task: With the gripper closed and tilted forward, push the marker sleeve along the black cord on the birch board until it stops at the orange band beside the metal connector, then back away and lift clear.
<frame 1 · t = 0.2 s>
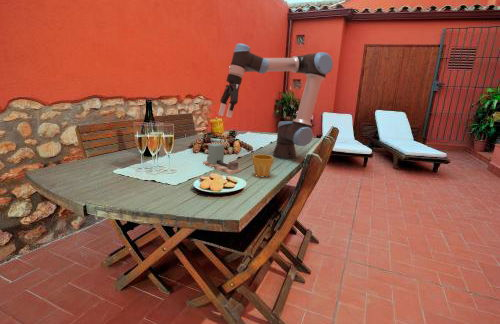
hand: (224, 116, 146), 27 cm above the table, tool pointing down, fingers open, 13 cm apart
marker sleeve: (216, 153, 153), point 7 cm above the table, slide at 0.0 cm
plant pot: (261, 175, 142), on the table
cord board: (221, 167, 151), on the table
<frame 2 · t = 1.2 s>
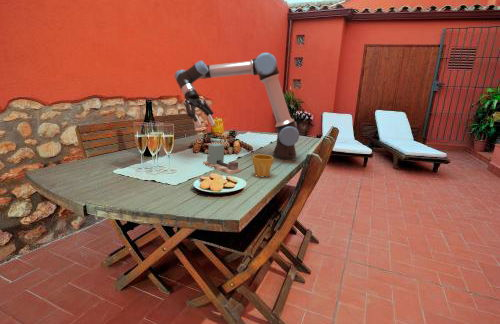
hand: (206, 125, 155), 21 cm above the table, tool tilted 45°, fingers open, 9 cm apart
nothing on the table moved.
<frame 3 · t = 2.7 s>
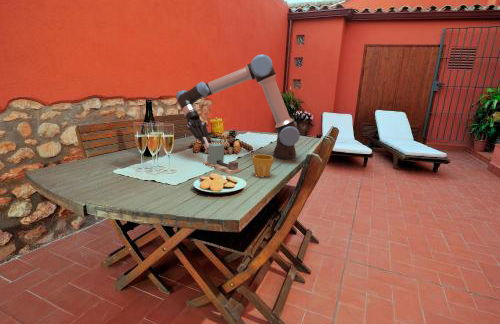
hand: (208, 148, 157), 9 cm above the table, tool tilted 45°, fingers closed
nothing on the table moved.
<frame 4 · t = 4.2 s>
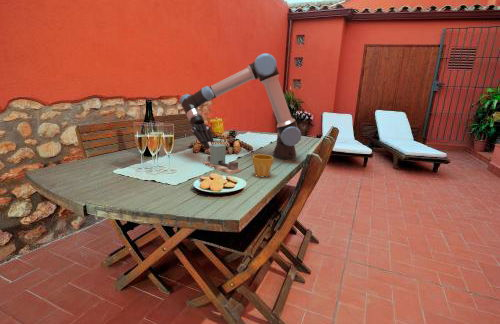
hand: (212, 153, 154), 7 cm above the table, tool tilted 45°, fingers closed
marker sleeve: (217, 154, 152), point 7 cm above the table, slide at 1.4 cm, touching gripper
everything else where it was.
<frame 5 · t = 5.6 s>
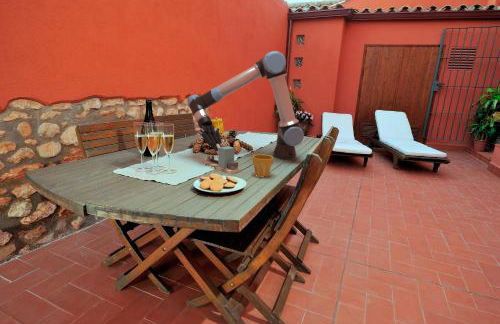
hand: (221, 155, 150), 7 cm above the table, tool tilted 45°, fingers closed
marker sleeve: (226, 156, 147), point 7 cm above the table, slide at 8.5 cm, touching gripper
everything else where it was.
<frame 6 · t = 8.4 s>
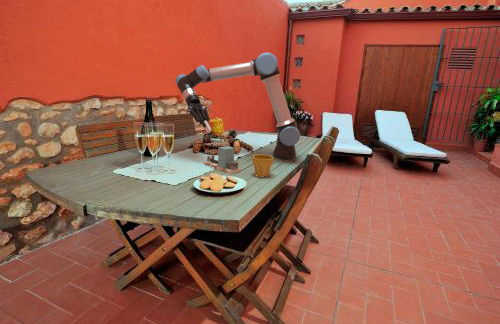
hand: (209, 131, 154), 18 cm above the table, tool tilted 45°, fingers closed
marker sleeve: (226, 156, 147), point 7 cm above the table, slide at 8.3 cm
everything else where it was.
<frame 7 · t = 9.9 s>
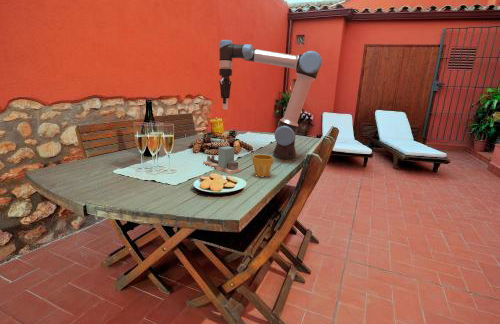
hand: (225, 109, 172), 29 cm above the table, tool pointing down, fingers closed
nothing on the table moved.
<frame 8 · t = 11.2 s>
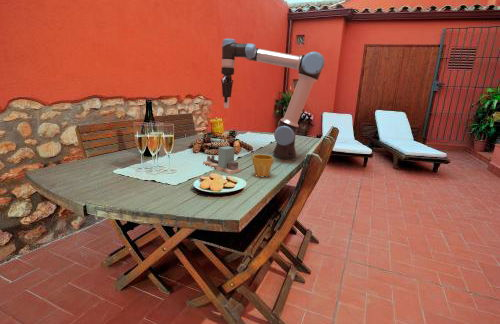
hand: (226, 107, 173), 29 cm above the table, tool pointing down, fingers closed
nothing on the table moved.
at the end: marker sleeve slide at 8.3 cm; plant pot moved 0.2 cm from its start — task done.
